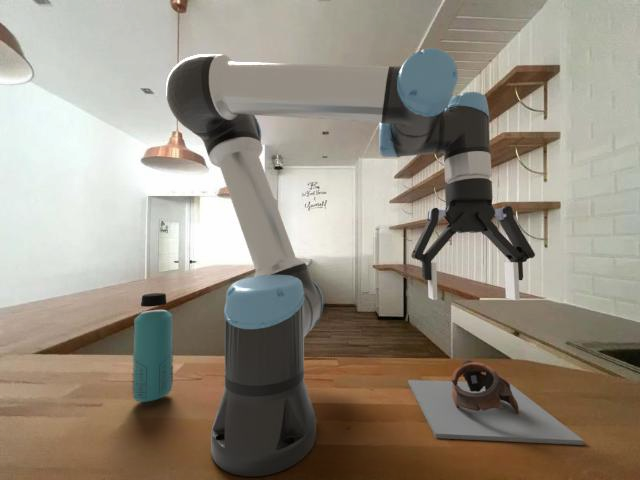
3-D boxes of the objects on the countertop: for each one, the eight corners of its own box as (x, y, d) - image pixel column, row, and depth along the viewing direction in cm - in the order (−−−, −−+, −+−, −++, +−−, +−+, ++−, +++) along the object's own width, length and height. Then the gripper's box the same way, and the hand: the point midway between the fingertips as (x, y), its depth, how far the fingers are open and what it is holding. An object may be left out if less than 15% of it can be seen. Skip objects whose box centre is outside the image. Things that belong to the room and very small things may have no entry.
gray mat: (435, 437, 39) (435, 433, 39) (408, 383, 56) (408, 380, 56) (583, 444, 38) (583, 440, 38) (509, 386, 54) (509, 383, 54)
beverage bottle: (177, 400, 50) (179, 292, 52) (136, 416, 46) (139, 297, 47) (166, 389, 55) (168, 290, 56) (126, 402, 50) (129, 293, 51)
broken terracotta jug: (539, 428, 41) (519, 386, 40) (479, 450, 42) (458, 410, 41) (493, 374, 53) (476, 340, 51) (447, 392, 54) (430, 359, 53)
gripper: (526, 185, 52) (532, 296, 51) (394, 189, 54) (397, 295, 53) (556, 173, 44) (564, 303, 43) (402, 178, 47) (405, 301, 46)
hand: (472, 299), depth 48 cm, fingers open, 13 cm apart
